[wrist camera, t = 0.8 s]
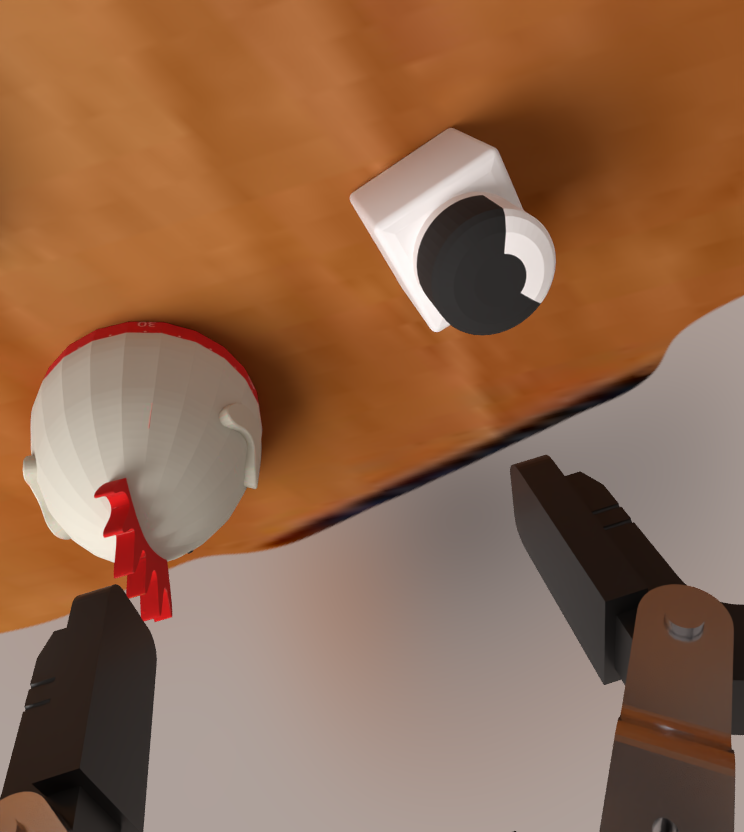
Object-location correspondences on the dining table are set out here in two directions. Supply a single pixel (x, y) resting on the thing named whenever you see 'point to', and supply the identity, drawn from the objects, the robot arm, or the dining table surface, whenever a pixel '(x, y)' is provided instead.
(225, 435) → the kitchen timer
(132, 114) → the dining table surface
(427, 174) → the medicine bottle
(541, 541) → the robot arm
